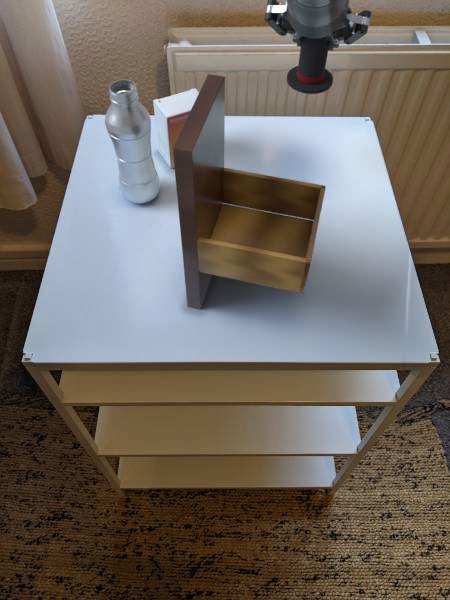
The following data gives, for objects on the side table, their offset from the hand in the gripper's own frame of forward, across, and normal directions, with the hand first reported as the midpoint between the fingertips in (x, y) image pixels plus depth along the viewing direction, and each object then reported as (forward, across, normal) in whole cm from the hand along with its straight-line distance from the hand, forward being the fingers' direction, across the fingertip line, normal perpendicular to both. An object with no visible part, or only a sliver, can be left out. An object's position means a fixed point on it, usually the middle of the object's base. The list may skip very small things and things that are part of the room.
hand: (316, 41), depth 74 cm
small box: (+11, +20, +18) cm, 29 cm away
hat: (+2, 0, +5) cm, 5 cm away
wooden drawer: (-6, +2, +36) cm, 37 cm away
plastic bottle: (+3, +24, +27) cm, 36 cm away
